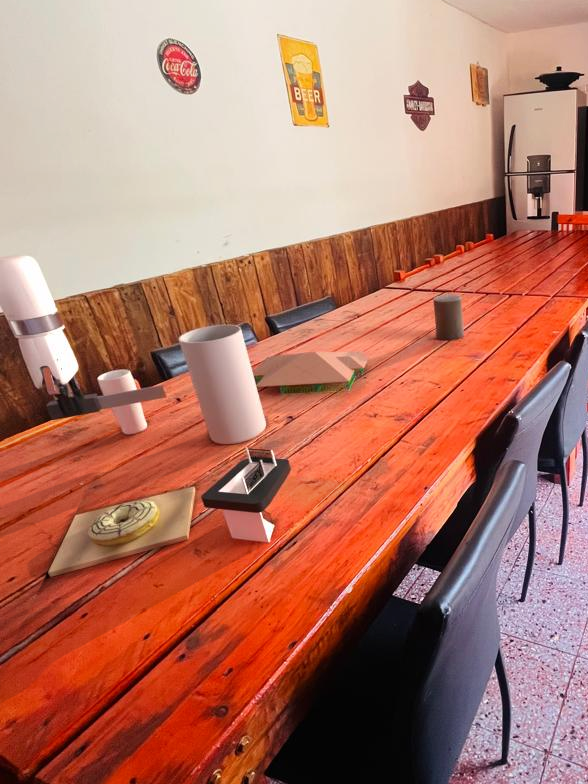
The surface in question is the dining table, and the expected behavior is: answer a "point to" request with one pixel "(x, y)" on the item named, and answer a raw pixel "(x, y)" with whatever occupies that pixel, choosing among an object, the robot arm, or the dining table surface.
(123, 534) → the decorated donut
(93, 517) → the cutting board
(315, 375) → the house
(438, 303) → the pillar candle
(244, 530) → the black-topped pedestal
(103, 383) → the white mug
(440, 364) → the dining table surface
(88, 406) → the knife
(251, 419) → the cylinder vase
